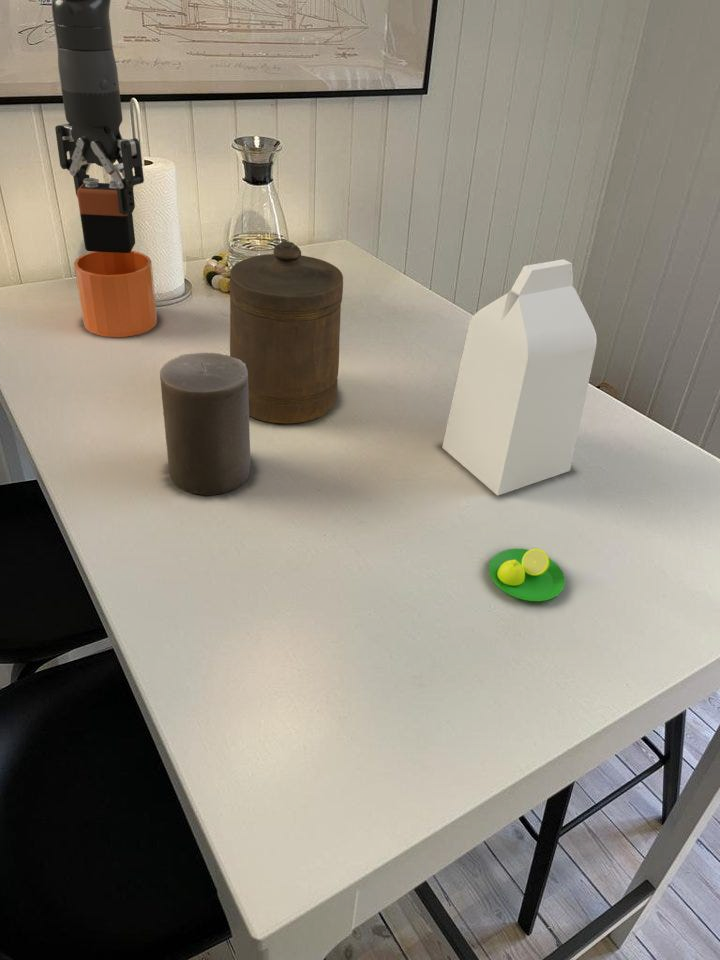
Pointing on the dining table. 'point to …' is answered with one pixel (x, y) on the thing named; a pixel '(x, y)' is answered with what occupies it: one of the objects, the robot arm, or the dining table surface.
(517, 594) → the plate of lemons
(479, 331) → the milk
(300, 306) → the wooden container
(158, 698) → the dining table surface
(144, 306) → the pot
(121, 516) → the dining table surface
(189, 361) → the pillar candle
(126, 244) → the battery
